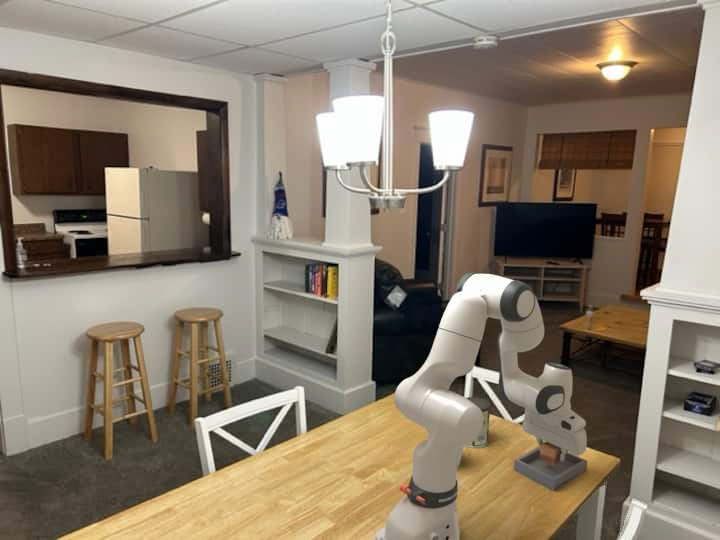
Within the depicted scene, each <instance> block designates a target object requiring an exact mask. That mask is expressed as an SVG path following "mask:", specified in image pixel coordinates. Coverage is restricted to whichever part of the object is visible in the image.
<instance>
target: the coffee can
mask: <svg viewBox="0 0 720 540" xmlns="http://www.w3.org/2000/svg"><path fill="white" fill-rule="evenodd" d="M466 398H467V399H468V400H470V401H471V402H472V403H474V404H475V405H476V406H477V407H479V408H480V409H481V411H482V414H483V419H484V424H483V429H482V432H481V434H480V435H479V437H478V438H477V439H476V440H475V441H474V442H472V443H470V444H468V445H465V446H464V447H468V448H473V449H480V448H484V447H486V446H487V445H488V444H489V429H490V426H489V425H490V411H491V410H490V408H491V403H490V402H489V400H487V399H484V398H482V397H475V396H467V397H466Z"/></svg>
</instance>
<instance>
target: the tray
mask: <svg viewBox="0 0 720 540" xmlns="http://www.w3.org/2000/svg"><path fill="white" fill-rule="evenodd" d="M513 470H514V471H515V472H517V473H519V474H520V475H523V476H524V477H526V478H529V479H530V480H531V481H534V482H536V483H538V484H540V485H541V486H544V487H545V488H547V489H549V490H550V491H552V492H555V491H557V490H558V489H560V488H561V487H563V486H565V485H567V483H570V482H571V481H573V480H575V479H576V478H578V477H579V476H582V475H583V474H584V473H586V472H587V471H588V460H587V459H585V458H582V457H580V456H579V455H578V456H577V455H575V454H573V453H571V452H567V454H566V455H565V459H564V461H562V462H560V463H559V464H557V465H555V466H552V465H550V464H548V463H546V462H544V461H542V460H540V451H539V446H538V447H536V448H535V449H533V450H531V451H529V452H527V453H525V454H523V455H521V456H519V457H517V458H515V459H514V464H513Z"/></svg>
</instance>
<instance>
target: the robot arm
mask: <svg viewBox="0 0 720 540" xmlns="http://www.w3.org/2000/svg"><path fill="white" fill-rule="evenodd" d="M455 286H456V287H455V290H454V294H453V295H452V296H451V299H449V302H448V303H447V306H446V308H445V310H444V312H443V315H442V317H441V320H440V323H439V325H438V329H437V331H436V335H435V338H434V340H433V344H432V347H431V349H430V352H429V354H428V356H427V358H426V360H425V362H424V363H423V364H422V365H421V367H420V368H419V369H418V371H416V372H415V374H412V375H411V376H410V377H407V378H405V379H403V380H402V381H401V382H400V383H399V385H398V386H397V387H396V389H395V393H394V399H393V400H394V405H395V408H396V409H397V410H398V411H399V412H400V413H401V414H402V415H403V416H404V417H405V418H407V420H409V421H411V422H413V423H415V424H417V425H418V426H421V427H422V428H424V429H425V430H426V431H427V435H428V437H427V438H428V439H425V440H423V441H421V442H419V444H418V445H417V446H416V447H415V448H414V450H413V454H412V475H411V478H410V480H409V482H408V485H407V484H406V483H405V482H403V483H401V484H399V485H400V486H399V489H398V490H399V491H400V492H402V493H403V494H405V495H404V496H403V497H402V498H401V499H400V501H398V503H397V504H396V506H394V508H393V509H392V510H391V512H390V513H389V514H388V515H387V517H386V521H385V526H383V527H382V528H381V529H380V530H378V531H377V532H376V533H375V540H461V539H460V538H461V529H460V525H459V517H458V508H457V507H458V506H457V498H458V492H459V490H458V486H459V485H458V480H457V471H458V467H457V462H458V456H459V453H460V451H461V449H462V448H463V449H464V447H466V446H465V445H468V444H470V443H472V442H474V441H475V440H476V439H477V438H478V437H479V435H480V434H481V432H482V429H483V424H484V419H483V414H482V411H481V409H480V408H479V407H477V406H476V405H475V404H474V403H472V402H471V401H470V400H468V399H467V397H465V396H462V395H461V394H459V393H456V392H454V391H451V390H449V389H450V387H451V385H452V383H453V382H454V381H455V379H457V378H458V377H462V376H465V375H468V374H470V373H471V372H472V370H473V369H474V367H475V363H476V360H477V356H478V354H479V351H480V347H481V344H482V340H483V336H484V332H485V328H486V324H487V319H488V318H491V319H496V320H500V323H501V328H502V331H500V332H499V334H498V337H497V341H496V343H497V344H496V345H497V346H496V347H497V348H496V349H497V350H496V351H497V363H498V375H499V377H498V378H499V379H498V382H497V383H498V384H497V385H498V387H497V388H498V392H499V395H500V397H501V399H503V400H504V401H506V402H508V403H512V404H515V405H517V406H519V407H522V408H525V409H524V417H523V420H522V430H523V432H525V434H529V435H532V436H533V437H535V438H536V439H535V440H536V442H537V444H538V447H539V451H540V446H541V444H543V443H544V442H549V443H551V444H553V445H555V446H557V447H560V448H561V451H562V453H560V454H558V455H557V457H558V458H557V459H558V460H560V461H564V459H565V455H566V454H567V452H569V453H572V454H574V455H576V456H578V457H579V456H581V455H583V454H584V453H585V452H586V451H587V445H588V442H587V440H588V439H587V436H588V435H587V432H586V430H585V427H586V425H587V421H586V420H585V419H584V418H582V417H581V416H580V415H579V414H577V413H576V412H575V411H573V409H572V405H571V397H572V396H573V372H572V369H571V368H570V367H568V366H567V365H564V364H561V363H558V362H557V363H556V362H547V363H545V365H544V368H543V371H542V374H541V375H540V376H538V377H535V376H532V375H530V374H527V373H525V372H523V371H522V370H521V368H519V362H518V361H519V360H518V353H524V352H528V351H531V350H533V349H535V348H536V347H537V346H540V345H539V344H541V342H542V340H543V339H544V336H545V325H544V319H543V316H542V311H541V307H540V305H539V302H538V299H537V297H536V295H535V293H534V291H533V289H532V287H531V286H530V285H529V284H527V283H525V282H523V281H522V280H521V281H520V280H514V279H511V278H509V277H508V278H507V277H503V276H500V275H499V274H491V273H481V272H469V273H466V274H464V275H463V276H462V277H461V278H460V279H459V280H458V282H457V284H456V285H455Z"/></svg>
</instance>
